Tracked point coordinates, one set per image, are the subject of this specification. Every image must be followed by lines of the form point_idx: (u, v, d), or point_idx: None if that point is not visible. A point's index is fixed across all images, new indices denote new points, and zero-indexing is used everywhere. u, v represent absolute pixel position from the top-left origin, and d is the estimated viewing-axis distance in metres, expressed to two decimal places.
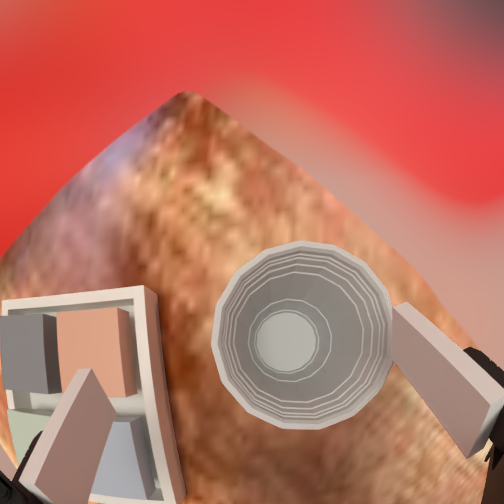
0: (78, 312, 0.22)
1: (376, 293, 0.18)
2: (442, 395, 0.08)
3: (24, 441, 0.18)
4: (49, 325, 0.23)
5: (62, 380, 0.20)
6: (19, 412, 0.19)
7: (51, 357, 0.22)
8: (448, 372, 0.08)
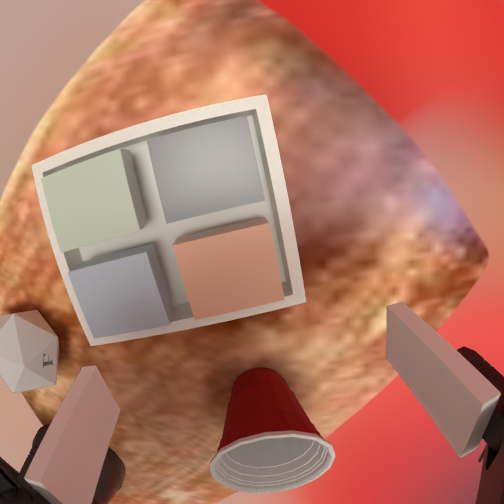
0: (273, 254, 0.23)
1: (297, 481, 0.24)
2: (435, 394, 0.08)
3: (89, 184, 0.20)
4: None
5: (190, 243, 0.22)
6: (124, 173, 0.20)
7: None
8: (441, 371, 0.08)
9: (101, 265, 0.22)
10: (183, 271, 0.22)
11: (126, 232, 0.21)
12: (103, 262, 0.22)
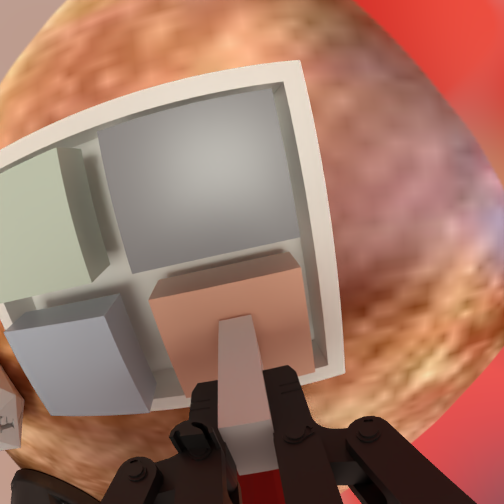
0: (304, 314, 0.15)
1: None
2: None
3: (15, 206, 0.11)
4: None
5: (175, 298, 0.14)
6: (63, 188, 0.11)
7: None
8: None
9: (44, 329, 0.13)
10: (167, 336, 0.14)
11: (72, 284, 0.12)
12: (46, 324, 0.13)
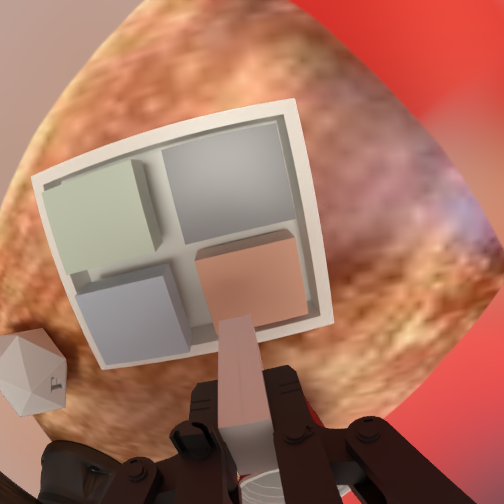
0: (298, 269, 0.22)
1: None
2: None
3: (96, 200, 0.18)
4: None
5: (213, 259, 0.21)
6: (136, 187, 0.18)
7: None
8: None
9: (112, 289, 0.20)
10: (206, 287, 0.22)
11: (139, 254, 0.19)
12: (114, 286, 0.20)
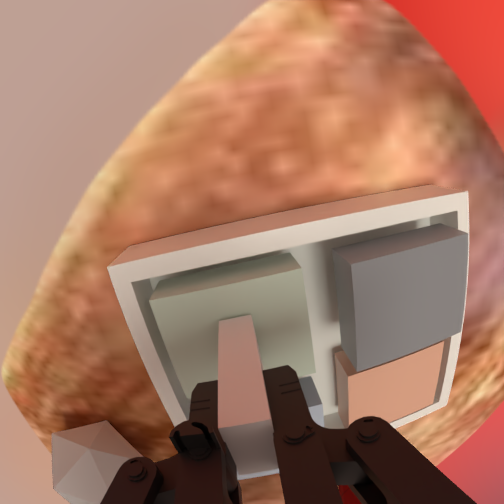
0: (438, 368, 0.18)
1: None
2: None
3: None
4: None
5: (367, 372, 0.17)
6: (305, 303, 0.14)
7: None
8: None
9: None
10: (352, 398, 0.17)
11: None
12: None
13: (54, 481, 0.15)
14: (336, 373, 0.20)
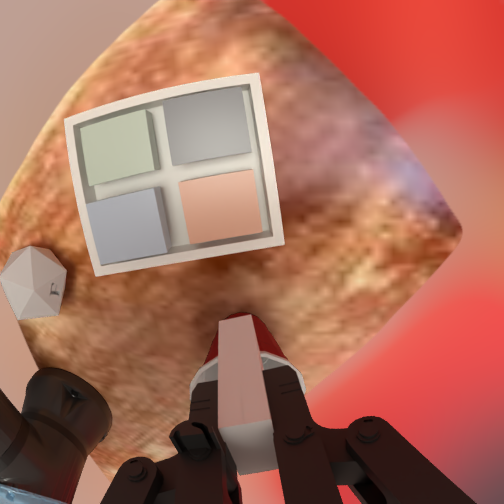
0: (255, 194, 0.29)
1: None
2: None
3: (118, 134, 0.26)
4: None
5: (191, 181, 0.28)
6: (147, 127, 0.27)
7: None
8: None
9: (115, 198, 0.27)
10: (185, 203, 0.29)
11: (143, 171, 0.28)
12: (117, 196, 0.27)
13: (1, 273, 0.26)
14: None
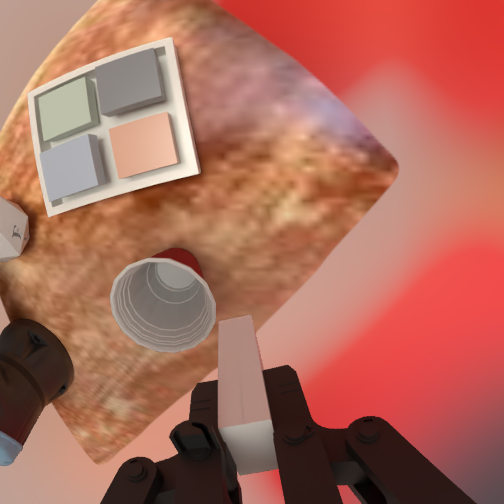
0: (169, 131, 0.32)
1: (191, 341, 0.31)
2: None
3: (65, 98, 0.29)
4: (155, 99, 0.30)
5: (118, 127, 0.31)
6: (86, 89, 0.29)
7: (130, 106, 0.30)
8: None
9: (60, 145, 0.29)
10: (113, 145, 0.31)
11: (83, 123, 0.30)
12: (62, 144, 0.29)
13: None
14: None
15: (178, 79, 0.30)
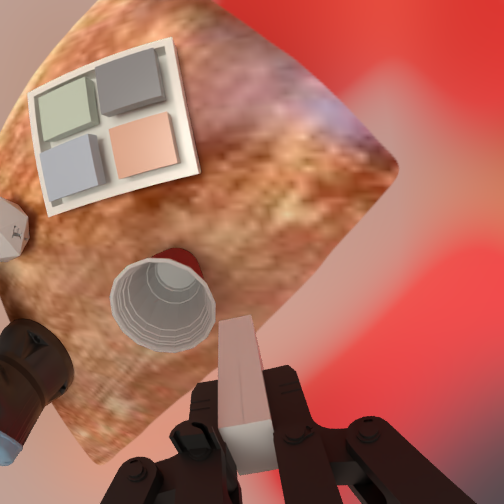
0: (169, 131, 0.32)
1: (191, 341, 0.31)
2: None
3: (65, 98, 0.29)
4: (155, 99, 0.30)
5: (118, 127, 0.31)
6: (86, 89, 0.29)
7: (130, 106, 0.30)
8: None
9: (60, 145, 0.29)
10: (113, 145, 0.31)
11: (83, 123, 0.30)
12: (62, 144, 0.29)
13: None
14: None
15: (178, 79, 0.30)
